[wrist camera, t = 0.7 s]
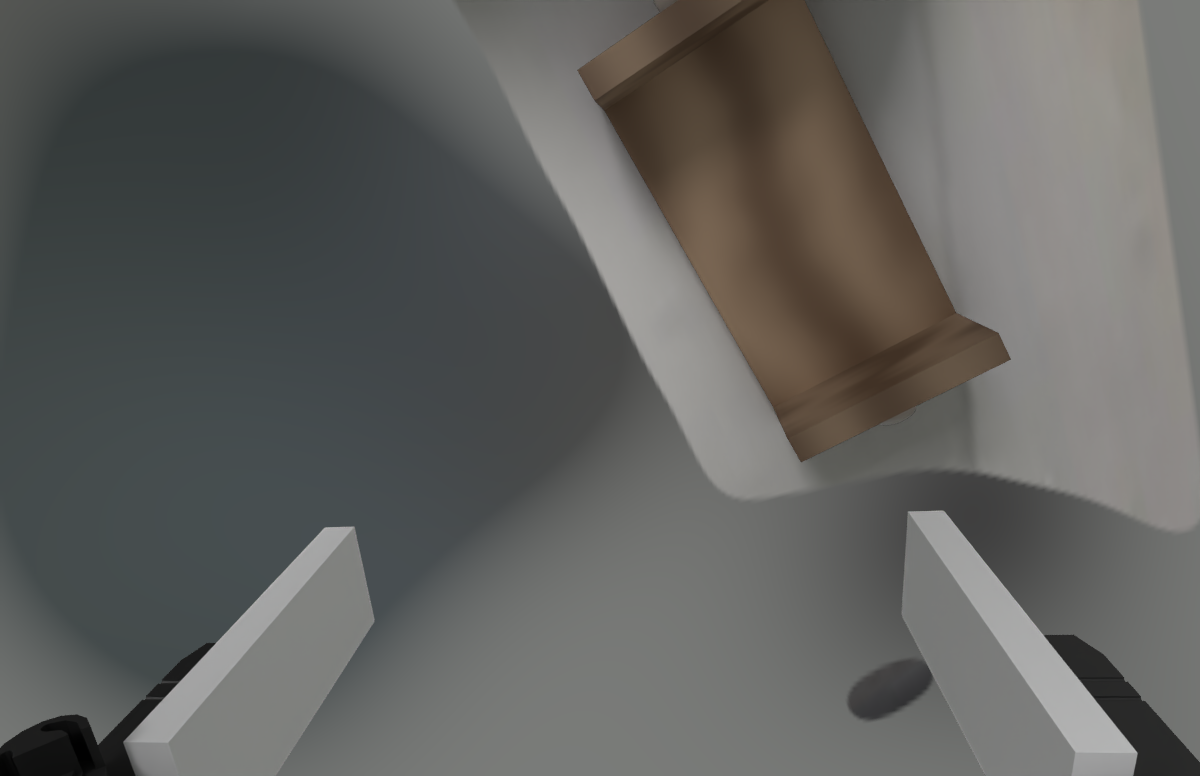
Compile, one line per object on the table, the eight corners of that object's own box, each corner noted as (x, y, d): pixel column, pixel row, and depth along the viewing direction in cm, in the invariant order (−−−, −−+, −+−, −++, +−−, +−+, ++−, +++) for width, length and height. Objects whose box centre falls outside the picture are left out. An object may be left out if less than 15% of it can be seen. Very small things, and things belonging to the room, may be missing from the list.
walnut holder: (768, -59, 34) (789, -109, 28) (965, 346, 39) (1018, 376, 33) (582, 70, 36) (565, 49, 31) (789, 434, 41) (810, 477, 35)
